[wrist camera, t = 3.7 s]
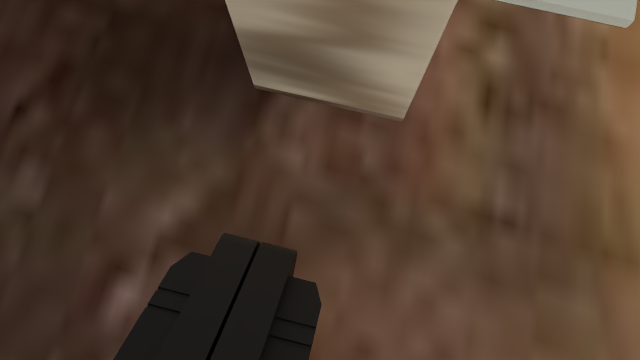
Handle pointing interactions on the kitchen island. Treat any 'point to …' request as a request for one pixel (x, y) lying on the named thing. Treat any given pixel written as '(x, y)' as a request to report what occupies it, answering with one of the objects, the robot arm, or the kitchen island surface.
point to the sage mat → (587, 9)
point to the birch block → (341, 49)
